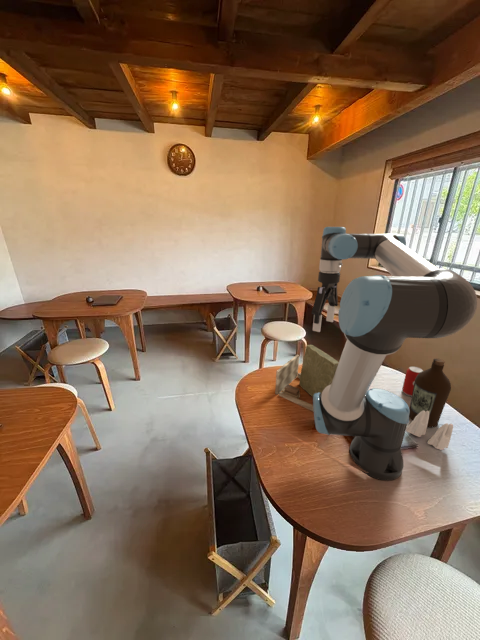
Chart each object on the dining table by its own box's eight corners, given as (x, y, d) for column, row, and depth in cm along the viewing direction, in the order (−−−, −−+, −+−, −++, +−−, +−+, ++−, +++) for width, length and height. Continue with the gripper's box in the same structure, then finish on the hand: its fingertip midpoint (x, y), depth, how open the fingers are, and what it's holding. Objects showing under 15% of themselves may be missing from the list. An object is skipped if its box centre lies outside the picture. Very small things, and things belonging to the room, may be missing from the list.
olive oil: (416, 406, 107) (432, 351, 99) (445, 423, 98) (465, 363, 90) (400, 414, 103) (414, 356, 94) (428, 432, 94) (447, 370, 86)
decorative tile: (296, 385, 121) (299, 346, 115) (307, 382, 124) (311, 343, 117) (324, 410, 105) (330, 365, 99) (336, 406, 108) (343, 362, 101)
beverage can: (415, 399, 112) (421, 374, 108) (399, 392, 116) (405, 368, 112) (420, 394, 116) (427, 369, 112) (404, 387, 120) (410, 364, 116)
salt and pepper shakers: (403, 434, 93) (410, 408, 90) (407, 428, 96) (414, 402, 92) (445, 453, 85) (455, 426, 82) (448, 446, 88) (457, 419, 84)
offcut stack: (296, 401, 111) (297, 392, 109) (281, 395, 115) (282, 386, 113) (299, 397, 113) (300, 388, 112) (285, 391, 117) (285, 383, 116)
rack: (338, 422, 99) (343, 395, 95) (275, 395, 114) (276, 370, 110) (353, 398, 113) (358, 373, 109) (295, 376, 128) (296, 354, 124)
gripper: (327, 277, 85) (320, 338, 92) (350, 268, 104) (343, 319, 111) (305, 275, 90) (300, 333, 97) (331, 266, 108) (325, 315, 115)
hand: (323, 326), depth 104 cm, fingers open, 13 cm apart
